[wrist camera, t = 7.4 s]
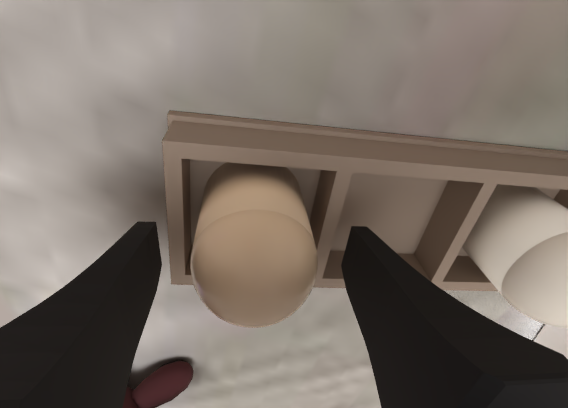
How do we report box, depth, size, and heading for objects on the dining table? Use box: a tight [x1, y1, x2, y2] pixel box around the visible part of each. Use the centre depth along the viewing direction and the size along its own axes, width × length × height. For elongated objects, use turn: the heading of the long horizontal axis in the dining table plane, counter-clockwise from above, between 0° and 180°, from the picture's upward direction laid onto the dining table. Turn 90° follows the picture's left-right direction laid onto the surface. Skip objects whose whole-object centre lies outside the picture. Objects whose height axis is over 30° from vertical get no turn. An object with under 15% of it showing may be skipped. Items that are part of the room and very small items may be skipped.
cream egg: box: [462, 184, 568, 328], centre depth 14 cm, size 4×4×6 cm
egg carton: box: [162, 111, 568, 291], centre depth 15 cm, size 20×7×2 cm, turn 82°
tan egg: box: [190, 162, 318, 328], centre depth 12 cm, size 4×4×6 cm
